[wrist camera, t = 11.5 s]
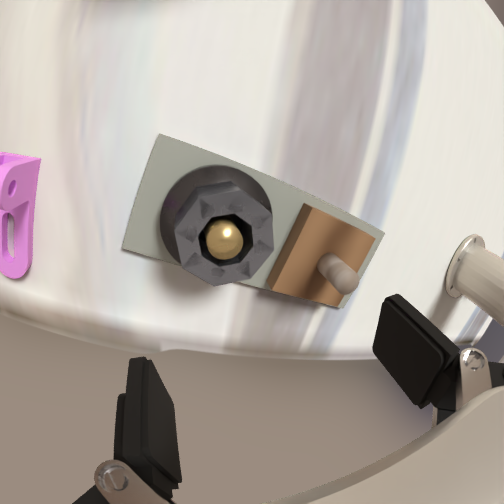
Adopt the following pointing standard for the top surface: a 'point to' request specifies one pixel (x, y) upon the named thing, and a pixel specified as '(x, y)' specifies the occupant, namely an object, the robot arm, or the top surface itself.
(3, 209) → the bracket
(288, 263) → the stand
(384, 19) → the top surface
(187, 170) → the mat
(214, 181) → the hub
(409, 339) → the robot arm
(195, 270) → the ring
